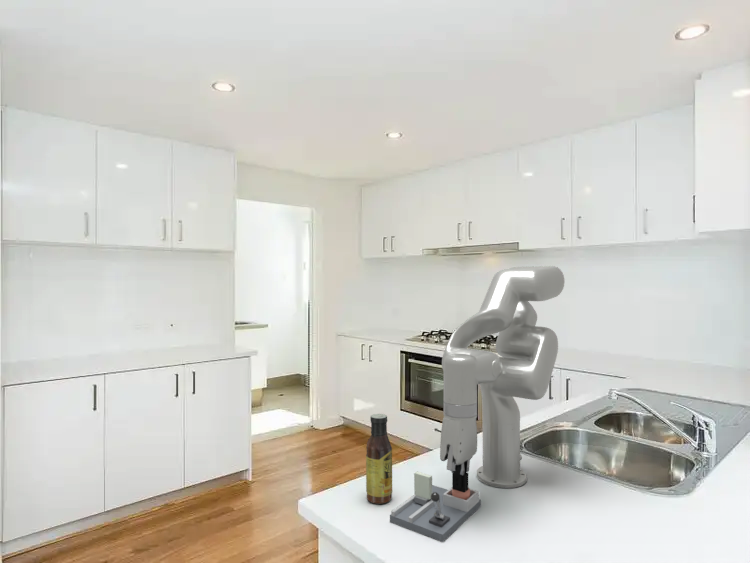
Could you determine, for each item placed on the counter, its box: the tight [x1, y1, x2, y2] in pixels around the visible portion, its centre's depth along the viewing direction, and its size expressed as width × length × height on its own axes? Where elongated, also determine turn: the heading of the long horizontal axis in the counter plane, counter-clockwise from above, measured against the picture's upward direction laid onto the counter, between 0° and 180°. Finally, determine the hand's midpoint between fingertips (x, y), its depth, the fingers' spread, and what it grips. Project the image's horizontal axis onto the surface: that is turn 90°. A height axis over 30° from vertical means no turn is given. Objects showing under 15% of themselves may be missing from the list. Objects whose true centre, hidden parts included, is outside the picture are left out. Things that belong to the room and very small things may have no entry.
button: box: [451, 486, 471, 500], centre depth 107 cm, size 4×4×3 cm
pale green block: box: [413, 471, 433, 505], centre depth 107 cm, size 3×4×6 cm
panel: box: [389, 484, 482, 543], centre depth 105 cm, size 18×13×4 cm
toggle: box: [431, 492, 445, 520], centre depth 98 cm, size 2×2×6 cm
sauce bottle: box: [365, 413, 393, 505], centre depth 112 cm, size 7×6×20 cm
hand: (460, 489), depth 107 cm, fingers closed
